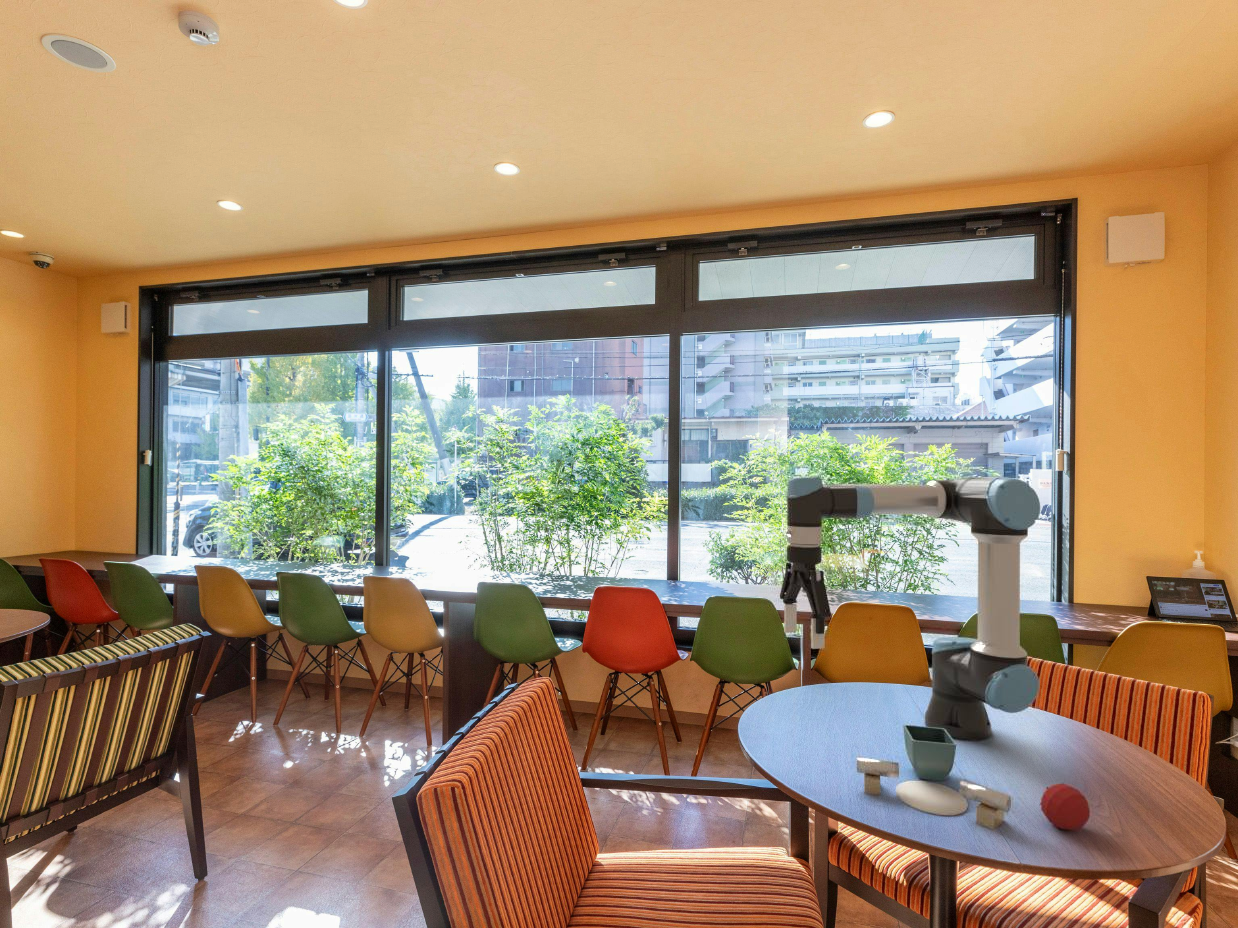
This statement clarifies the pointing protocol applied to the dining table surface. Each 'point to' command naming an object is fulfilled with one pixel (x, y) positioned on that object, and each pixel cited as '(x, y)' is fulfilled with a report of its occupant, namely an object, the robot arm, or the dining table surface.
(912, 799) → the seat pad
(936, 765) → the flower pot
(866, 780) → the shaft
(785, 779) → the dining table surface
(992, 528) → the robot arm
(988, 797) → the shaft
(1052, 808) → the tomato
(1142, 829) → the dining table surface
